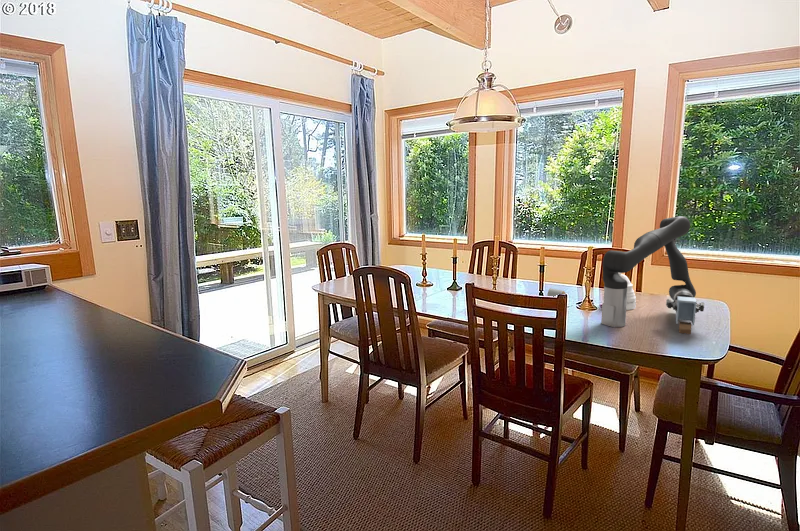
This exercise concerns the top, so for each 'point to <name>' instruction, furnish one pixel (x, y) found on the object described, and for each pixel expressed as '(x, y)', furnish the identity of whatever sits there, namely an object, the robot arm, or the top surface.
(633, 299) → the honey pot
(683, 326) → the cube
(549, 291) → the ceramic mug
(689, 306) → the tall pale blue box
